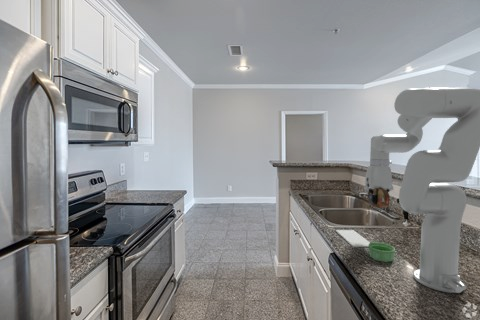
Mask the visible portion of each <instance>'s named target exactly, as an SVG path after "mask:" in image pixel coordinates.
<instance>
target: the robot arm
mask: <svg viewBox="0 0 480 320" xmlns="http://www.w3.org/2000/svg"><path fill="white" fill-rule="evenodd" d="M394 110H395V112H396V113H397V114H399V116H398V117H397V125H398V128H400V129H401V130H402V131H403V132H405V133H406V134H381V135H376V136H372V137H371V138H370V150H369V151H370V153H369V154H370V155H369V165H368V166H367V168H366V173H365V174H366V175H365V181H364V184H365V185H364V187H363V190H365V191H367V192H368V191H369V192H370V194H372V197H371V201H372V203H374V204H377V195H376V189H385V190H387V191H388V193H390V192H391V191H393V190H394V189H395V188H394V186H393V177H392V176H393V175H392V174H393V173H392V169H391V166H390V165H391V164H392V163H393V162H392V160H390V153H394V154H395V153H397V154H399V153H403V154H404V153H409V152H410V151H412V150H414V149H415V147H417V146H418V145H419V144H420V143H421V142H422V139H423V135H424V134H423V133H424V132H423V131H424V130H423V128H424V127H425V126H426V125H427V124H428V123H429V122H431V120H432V119H456V121H455V122H454V123H453V124H452V125H450V127H449V128H447V130H446V131H445V132H444V134H443V136H442V139H441V142H440V145H439V147H438V149H436V150H435V149H433V150H432V149H428V150H427V149H423V150H419V151H416V152H414V153H413V154H412V155H411V156H410V157H409V158H408V160H407V162H406V163H407V164H406V166H405V170H404V174H403V177H402V181H401V184H400V185H401V186H400V188H399V194H398V202H399V205H400V207H401V208H402V210H403V211H405V212H407V213H408V214H416V215H425V216H424V218H423V221H422V223H421V230H420V231H421V232H420V252H419V253H420V254H419V268H418V269H416V270H414V271H413V278H414V279H415V281H417V282H418V283H420V284H421V285H423V286H424V287H427V288H430V289H432V290H435V291H438V292H442V293H443V292H444V293H451V294H460V293H462V292H463V291H465V290H466V289H467V285H465V284H464V283H463V282H462V281H461V276H460V275H459V258H460V257H459V256H460V241H461V227H462V220H463V217H464V212H465V209H466V206H467V200H468V199H467V195H466V193H465V191H464V190H463V188H461V187H459V186H458V185H455V184H452V183H460V182H463V181H465V180H467V179H468V178H469V176H470V174H471V172H472V169H473V166H474V164H475V162H476V159H477V156H478V153H479V151H480V89H479V88H474V87H430V88H429V87H424V88H407V89H404V90H402V91H401V92H400V93H399V94H397V96H396V98H395V100H394ZM370 188H371V189H370Z"/></svg>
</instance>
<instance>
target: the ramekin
mask: <svg viewBox="0 0 480 320" xmlns="http://www.w3.org/2000/svg"><path fill="white" fill-rule="evenodd" d="M368 250H369V253H368V254H369V256H370V258H372V259H373V260H375V261H378V262H383V263H387V262H388V263H390V262H392V261H393V260H394V255H395V251H396V249H395V247H394V246H392V245H391V244H387V243H384V242H379V241H377V242H375V241H374V242H370V243H369V247H368Z"/></svg>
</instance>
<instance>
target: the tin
mask: <svg viewBox="0 0 480 320" xmlns="http://www.w3.org/2000/svg"><path fill="white" fill-rule="evenodd" d="M369 188H370V187H369ZM370 189H371V188H370ZM367 192H368V194H367V198H368V202H369V203H370V205H372V206H374V207H377V208H379V209H386V208H388V207H389V206H390V197H391V196H390V192H388V191H387V190H385V189H376V195H377V204H374V203H372V201H371V197H372V194H370V192H369V191H367Z"/></svg>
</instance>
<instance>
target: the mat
mask: <svg viewBox="0 0 480 320" xmlns="http://www.w3.org/2000/svg"><path fill="white" fill-rule="evenodd" d="M335 232H336V233H337V234H338V235H339V236H341V237H342V239H344V240H345V241H346V242H347V243H348V244H349V245H350V246H351V247H353V248H369V243H371V242H370V241H369V240H368V239H366V238H364V237H363V236H362V235H361V234H360V233H358V232H357V231H355V230H353V229H336V230H335Z"/></svg>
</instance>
